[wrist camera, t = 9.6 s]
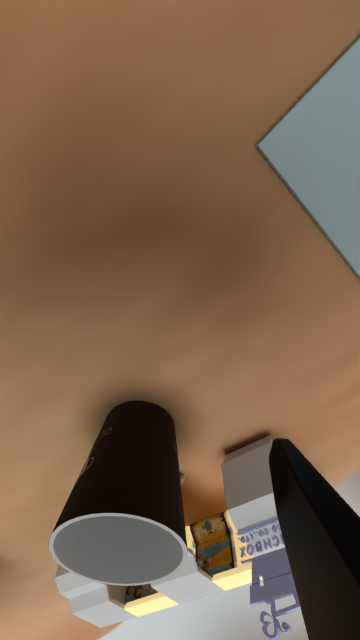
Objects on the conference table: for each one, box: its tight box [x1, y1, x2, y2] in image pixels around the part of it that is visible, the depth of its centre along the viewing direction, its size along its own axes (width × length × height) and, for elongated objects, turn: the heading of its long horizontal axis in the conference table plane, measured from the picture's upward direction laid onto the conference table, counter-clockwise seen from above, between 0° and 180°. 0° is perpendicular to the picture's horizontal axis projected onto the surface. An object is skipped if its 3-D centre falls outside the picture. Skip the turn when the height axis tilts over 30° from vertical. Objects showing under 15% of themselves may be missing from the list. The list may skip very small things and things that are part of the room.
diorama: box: [55, 435, 301, 640], centre depth 27 cm, size 25×10×13 cm, turn 126°
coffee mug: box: [48, 401, 188, 586], centre depth 23 cm, size 12×9×10 cm
